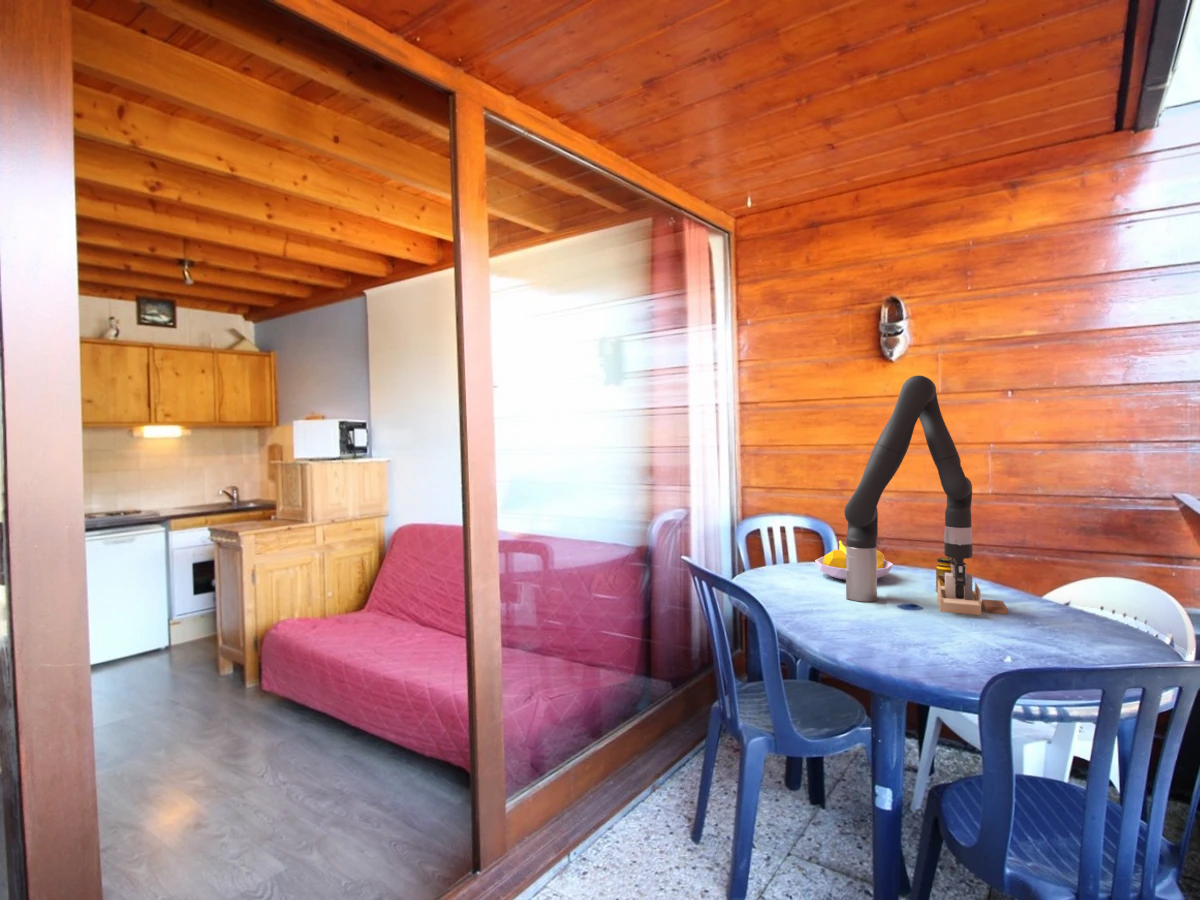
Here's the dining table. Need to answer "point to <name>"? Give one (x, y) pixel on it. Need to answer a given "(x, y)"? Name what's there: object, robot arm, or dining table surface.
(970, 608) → the wooden tray
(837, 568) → the fruit bowl
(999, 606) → the stand
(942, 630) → the dining table surface
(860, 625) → the dining table surface
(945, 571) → the condiment
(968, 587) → the box
